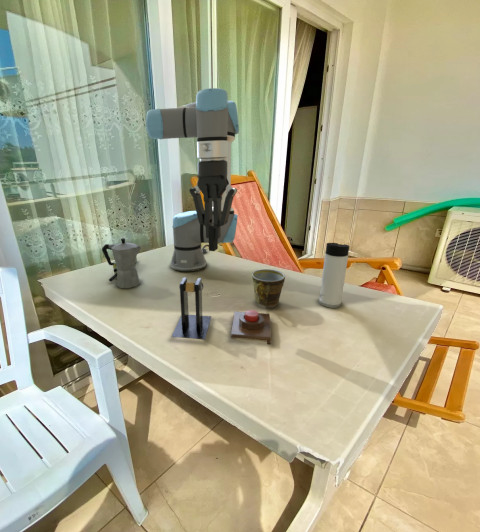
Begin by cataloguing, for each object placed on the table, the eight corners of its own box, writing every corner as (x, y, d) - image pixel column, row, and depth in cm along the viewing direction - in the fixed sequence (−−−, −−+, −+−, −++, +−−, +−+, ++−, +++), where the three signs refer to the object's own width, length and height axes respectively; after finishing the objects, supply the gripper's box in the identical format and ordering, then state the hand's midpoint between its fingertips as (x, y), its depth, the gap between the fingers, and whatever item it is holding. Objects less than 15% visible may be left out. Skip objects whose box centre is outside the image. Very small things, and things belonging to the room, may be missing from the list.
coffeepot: (148, 279, 120) (144, 235, 113) (140, 289, 111) (135, 242, 105) (112, 278, 122) (106, 234, 116) (101, 287, 114) (94, 241, 107)
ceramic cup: (258, 294, 104) (259, 267, 100) (287, 301, 98) (289, 272, 95) (241, 310, 94) (242, 280, 91) (272, 318, 89) (274, 287, 85)
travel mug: (315, 304, 96) (322, 243, 89) (323, 297, 100) (331, 238, 93) (336, 310, 92) (345, 247, 85) (343, 302, 96) (353, 242, 89)
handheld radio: (138, 261, 140) (115, 283, 117) (131, 261, 141) (107, 283, 118) (136, 247, 138) (112, 267, 115) (129, 248, 138) (104, 267, 115)
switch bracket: (181, 317, 91) (179, 271, 86) (211, 319, 89) (211, 273, 84) (171, 340, 80) (167, 289, 75) (205, 343, 78) (203, 291, 73)
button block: (234, 317, 90) (234, 305, 88) (269, 320, 88) (269, 308, 86) (231, 341, 79) (231, 328, 77) (270, 344, 77) (271, 331, 75)
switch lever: (193, 291, 92) (193, 280, 92) (204, 292, 91) (204, 280, 91) (183, 293, 79) (183, 280, 79) (196, 294, 78) (196, 281, 78)
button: (245, 315, 84) (245, 309, 83) (258, 315, 83) (258, 310, 83) (244, 321, 81) (244, 316, 80) (258, 322, 80) (258, 316, 79)
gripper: (182, 160, 76) (186, 250, 84) (231, 159, 70) (230, 256, 78) (196, 160, 82) (198, 243, 90) (242, 158, 76) (240, 248, 84)
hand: (213, 249), depth 84 cm, fingers closed
